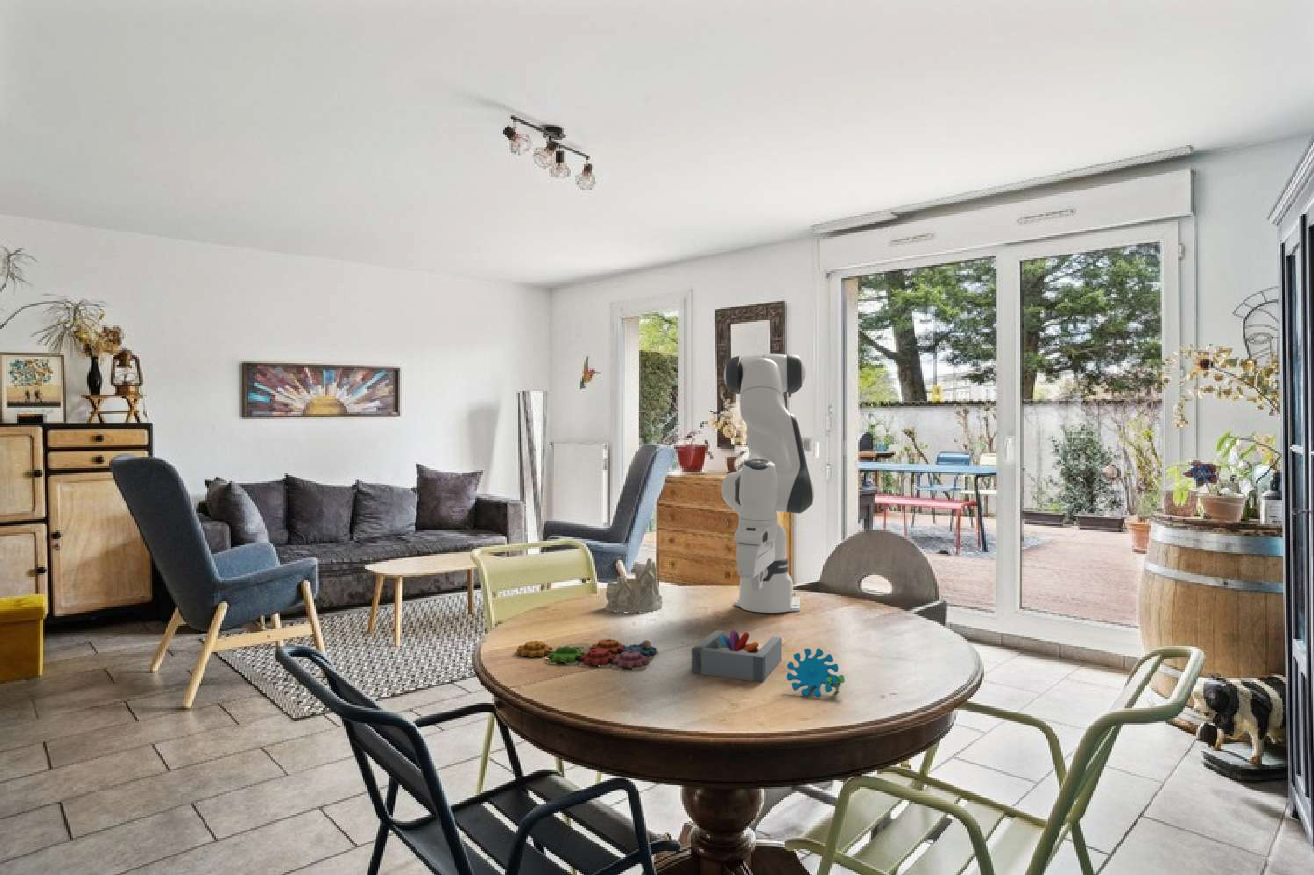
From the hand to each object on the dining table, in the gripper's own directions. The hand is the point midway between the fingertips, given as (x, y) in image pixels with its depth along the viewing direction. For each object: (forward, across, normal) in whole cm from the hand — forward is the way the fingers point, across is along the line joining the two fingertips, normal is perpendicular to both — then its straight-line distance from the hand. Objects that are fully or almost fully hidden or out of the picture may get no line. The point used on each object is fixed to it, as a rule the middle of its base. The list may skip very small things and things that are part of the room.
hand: (757, 589), depth 179 cm
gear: (+12, +27, +19) cm, 35 cm away
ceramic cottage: (+16, -25, -42) cm, 51 cm away
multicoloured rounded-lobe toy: (+13, +15, 0) cm, 20 cm away
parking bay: (+12, +17, +1) cm, 21 cm away
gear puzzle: (+14, +23, -33) cm, 42 cm away
